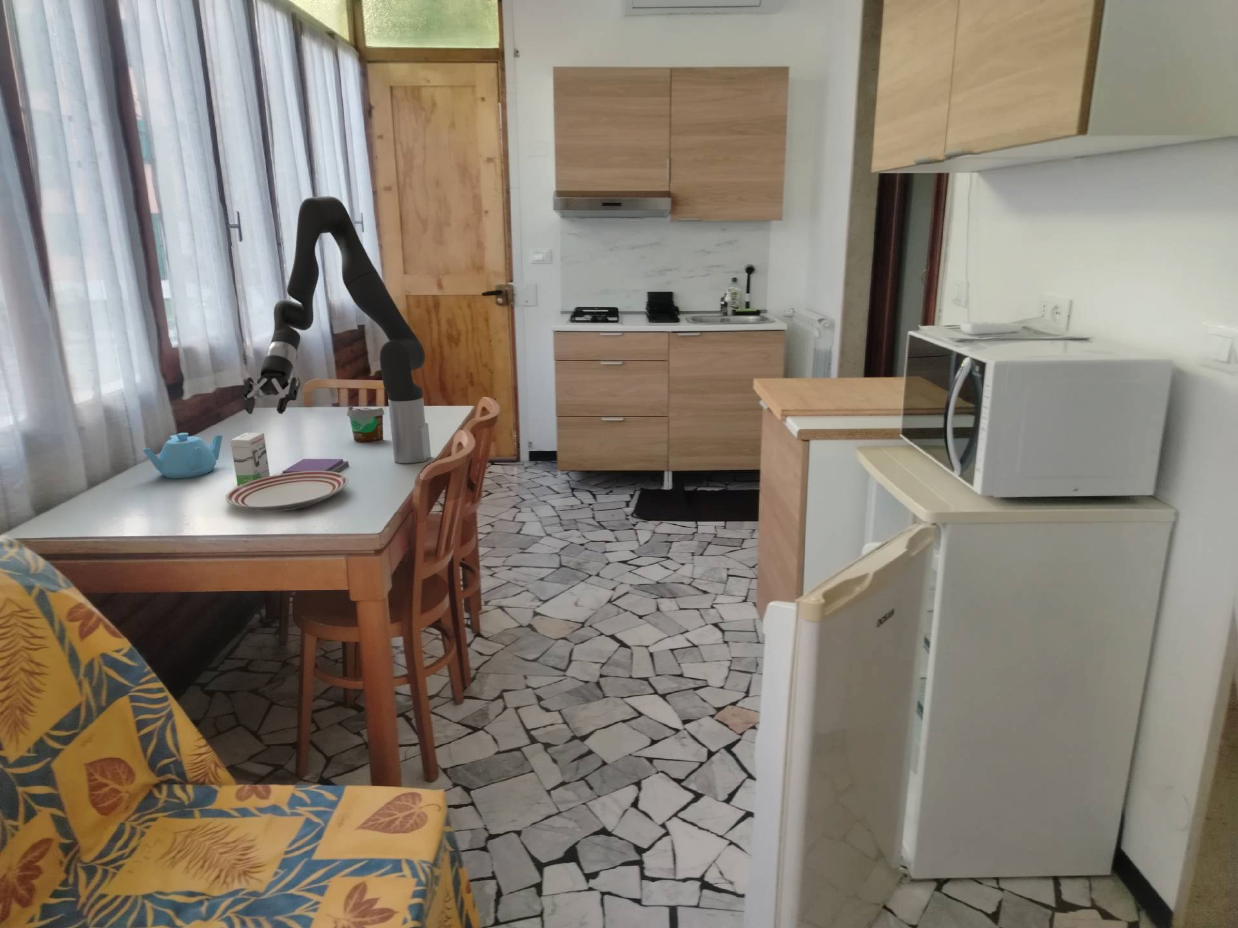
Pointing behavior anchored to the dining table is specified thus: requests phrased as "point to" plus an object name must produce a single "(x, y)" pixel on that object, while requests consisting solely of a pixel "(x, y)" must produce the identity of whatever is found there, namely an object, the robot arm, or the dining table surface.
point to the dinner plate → (287, 490)
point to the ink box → (250, 457)
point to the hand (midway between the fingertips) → (264, 412)
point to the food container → (366, 424)
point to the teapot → (186, 456)
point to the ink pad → (318, 465)
